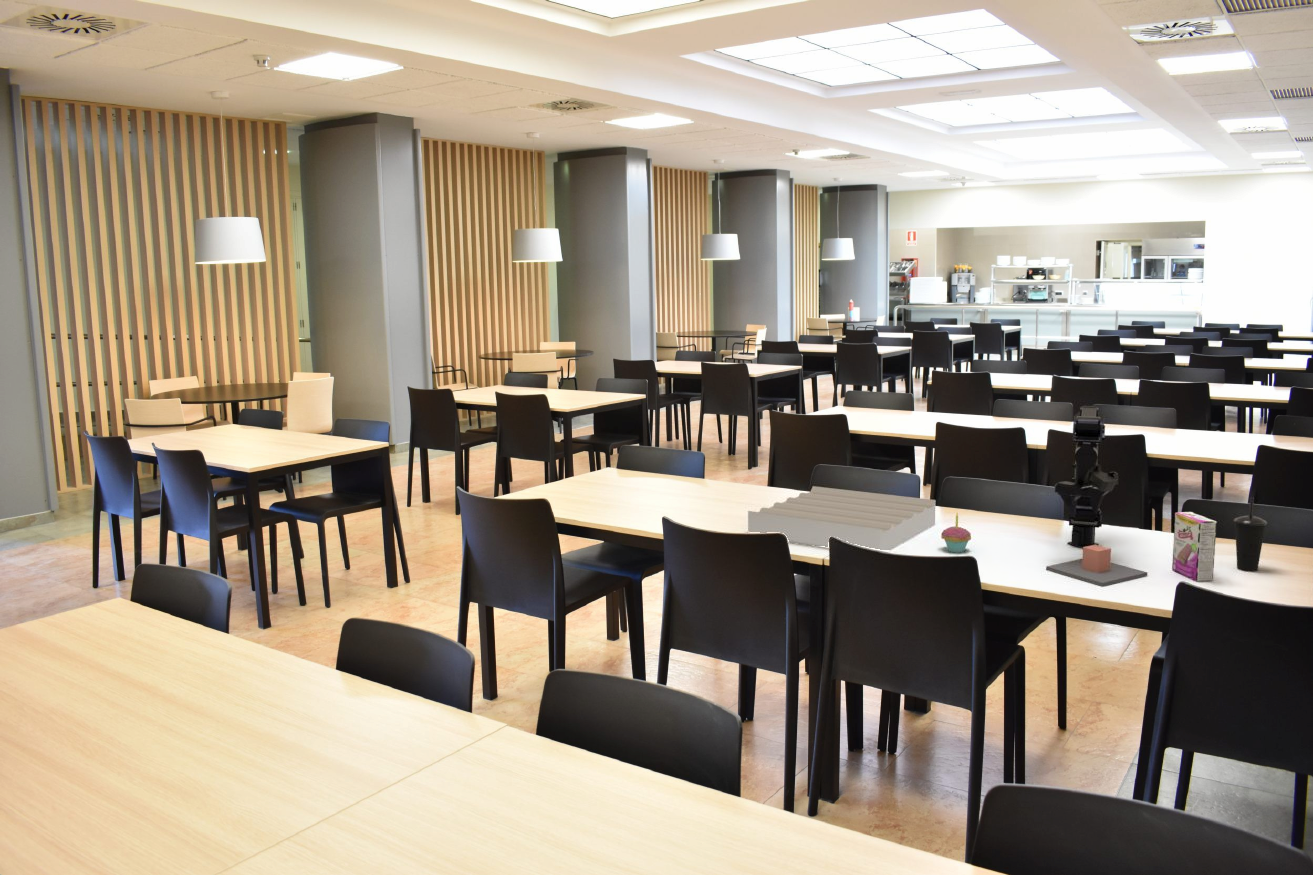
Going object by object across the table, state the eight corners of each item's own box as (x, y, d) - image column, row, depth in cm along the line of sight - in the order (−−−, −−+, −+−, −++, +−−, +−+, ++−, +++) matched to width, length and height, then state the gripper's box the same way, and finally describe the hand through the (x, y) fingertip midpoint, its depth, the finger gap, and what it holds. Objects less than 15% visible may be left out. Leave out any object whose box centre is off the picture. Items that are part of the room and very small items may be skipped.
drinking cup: (1224, 565, 271) (1229, 495, 268) (1250, 564, 271) (1255, 494, 268) (1243, 573, 263) (1248, 501, 260) (1270, 572, 264) (1275, 500, 261)
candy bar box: (1170, 570, 268) (1173, 511, 265) (1187, 569, 268) (1191, 511, 266) (1195, 582, 257) (1199, 521, 254) (1214, 581, 257) (1218, 520, 255)
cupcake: (972, 554, 287) (973, 514, 285) (942, 553, 289) (943, 514, 287) (968, 546, 296) (969, 508, 294) (939, 546, 297) (940, 507, 295)
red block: (1094, 565, 270) (1095, 544, 269) (1110, 570, 266) (1111, 548, 265) (1081, 568, 268) (1082, 547, 267) (1097, 572, 263) (1098, 551, 262)
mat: (1090, 560, 279) (1090, 556, 279) (1147, 575, 263) (1147, 572, 263) (1046, 569, 271) (1046, 566, 270) (1102, 586, 255) (1102, 582, 255)
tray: (812, 510, 350) (812, 486, 348) (934, 526, 323) (935, 500, 322) (748, 538, 314) (748, 510, 313) (879, 558, 288) (880, 528, 286)
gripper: (1088, 468, 264) (1085, 525, 267) (1133, 462, 273) (1130, 516, 275) (1054, 462, 274) (1052, 517, 277) (1099, 456, 283) (1096, 508, 285)
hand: (1083, 515), depth 278 cm, fingers open, 9 cm apart
